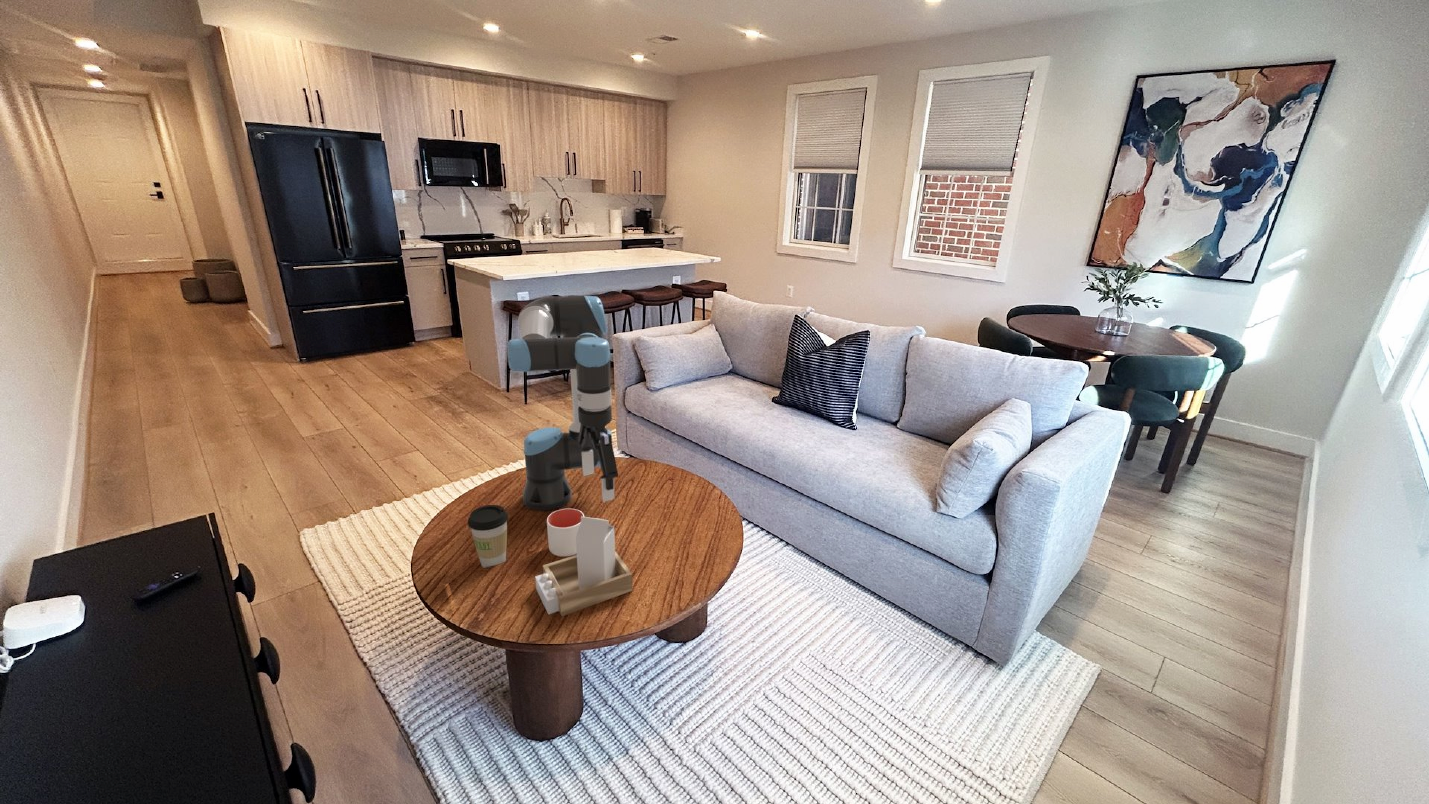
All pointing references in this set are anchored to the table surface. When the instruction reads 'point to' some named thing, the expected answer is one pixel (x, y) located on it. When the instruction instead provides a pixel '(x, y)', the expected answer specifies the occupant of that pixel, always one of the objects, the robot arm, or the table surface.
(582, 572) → the milk carton
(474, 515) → the coffee cup
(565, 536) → the cup
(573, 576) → the crate
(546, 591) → the egg box
